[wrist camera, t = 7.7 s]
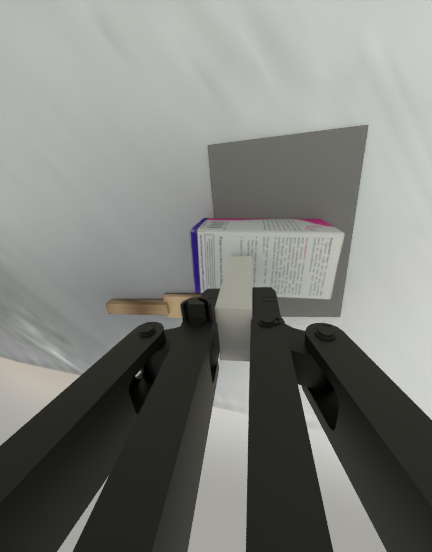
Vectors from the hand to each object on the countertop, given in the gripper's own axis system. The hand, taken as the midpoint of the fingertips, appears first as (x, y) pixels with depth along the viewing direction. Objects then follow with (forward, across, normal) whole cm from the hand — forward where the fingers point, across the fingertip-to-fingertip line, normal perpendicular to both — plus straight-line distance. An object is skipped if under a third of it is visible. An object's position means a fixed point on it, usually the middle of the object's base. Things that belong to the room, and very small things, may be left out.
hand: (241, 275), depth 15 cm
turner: (+9, -9, -8) cm, 15 cm away
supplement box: (+6, -4, 0) cm, 7 cm away
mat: (+9, +4, 0) cm, 10 cm away
